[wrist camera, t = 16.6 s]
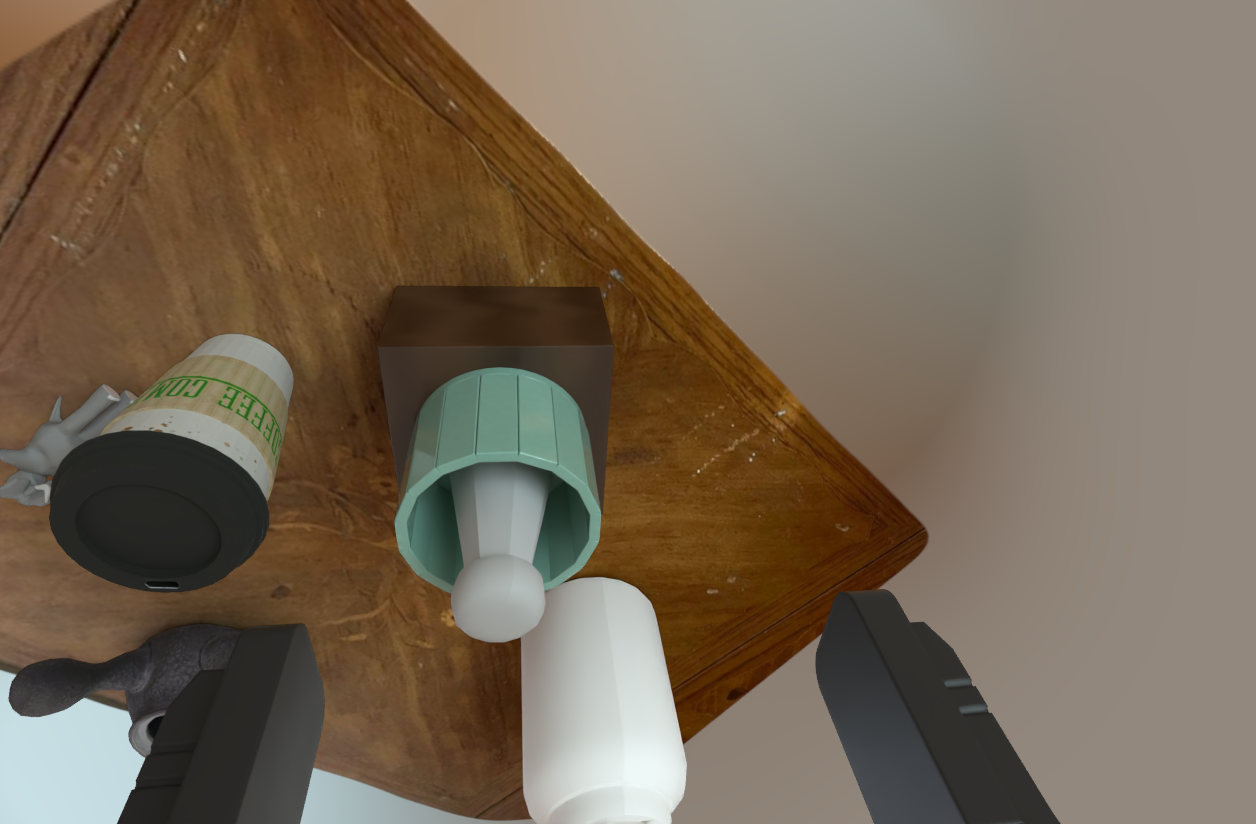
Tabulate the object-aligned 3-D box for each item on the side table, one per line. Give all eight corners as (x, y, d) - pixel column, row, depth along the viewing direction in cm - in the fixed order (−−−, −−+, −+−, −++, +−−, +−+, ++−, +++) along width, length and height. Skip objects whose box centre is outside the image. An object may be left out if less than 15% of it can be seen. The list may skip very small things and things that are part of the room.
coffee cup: (319, 316, 45) (249, 461, 33) (325, 439, 51) (267, 603, 38) (147, 299, 43) (5, 447, 31) (173, 429, 48) (60, 599, 36)
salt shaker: (568, 457, 43) (586, 630, 33) (490, 498, 44) (483, 678, 34) (515, 391, 40) (517, 558, 30) (432, 436, 41) (405, 614, 31)
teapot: (340, 629, 62) (315, 735, 54) (250, 717, 67) (214, 826, 59) (113, 536, 53) (41, 647, 45) (29, 645, 58) (-50, 763, 50)
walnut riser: (416, 448, 52) (403, 523, 46) (396, 285, 45) (377, 347, 38) (591, 443, 54) (602, 514, 48) (599, 287, 47) (613, 345, 40)
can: (612, 672, 71) (643, 896, 55) (497, 644, 66) (493, 881, 50) (679, 593, 65) (735, 816, 49) (558, 557, 61) (576, 790, 44)
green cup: (422, 507, 45) (407, 606, 39) (404, 367, 39) (383, 455, 33) (584, 500, 47) (596, 594, 40) (590, 365, 41) (605, 449, 34)
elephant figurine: (202, 439, 49) (101, 530, 49) (159, 382, 51) (61, 468, 50) (77, 403, 40) (-51, 515, 39) (29, 333, 41) (-95, 440, 41)
